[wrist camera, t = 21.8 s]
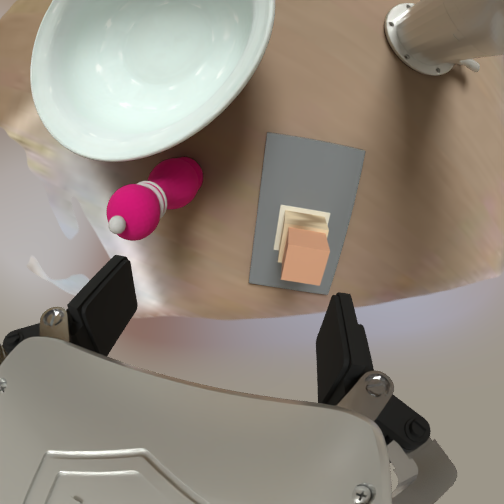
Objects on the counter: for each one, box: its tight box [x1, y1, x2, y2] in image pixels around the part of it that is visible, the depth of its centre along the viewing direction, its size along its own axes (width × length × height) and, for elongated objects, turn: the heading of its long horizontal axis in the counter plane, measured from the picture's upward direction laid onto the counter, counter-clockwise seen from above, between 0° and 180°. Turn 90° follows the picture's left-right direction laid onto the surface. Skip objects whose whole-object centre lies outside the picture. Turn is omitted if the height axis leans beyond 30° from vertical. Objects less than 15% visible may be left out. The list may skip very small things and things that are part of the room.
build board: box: [249, 132, 365, 295], centre depth 41 cm, size 14×25×1 cm, turn 174°
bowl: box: [30, 0, 275, 162], centre depth 24 cm, size 32×32×15 cm
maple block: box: [278, 210, 329, 263], centre depth 39 cm, size 6×6×5 cm
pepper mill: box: [107, 157, 203, 240], centre depth 32 cm, size 7×7×20 cm
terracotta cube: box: [281, 227, 330, 286], centre depth 35 cm, size 5×5×5 cm
